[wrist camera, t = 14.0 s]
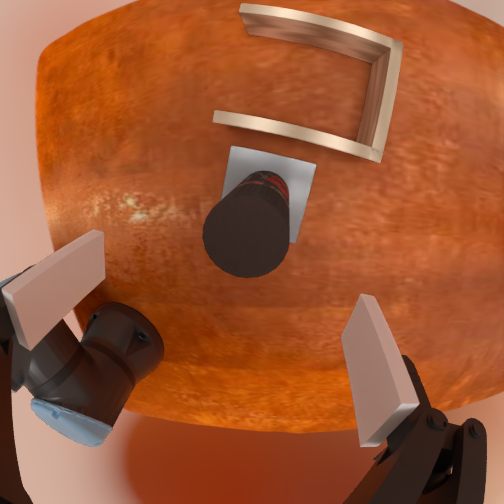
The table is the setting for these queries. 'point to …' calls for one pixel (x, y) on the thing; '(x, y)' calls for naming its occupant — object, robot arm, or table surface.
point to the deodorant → (250, 226)
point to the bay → (341, 41)
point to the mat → (288, 168)
